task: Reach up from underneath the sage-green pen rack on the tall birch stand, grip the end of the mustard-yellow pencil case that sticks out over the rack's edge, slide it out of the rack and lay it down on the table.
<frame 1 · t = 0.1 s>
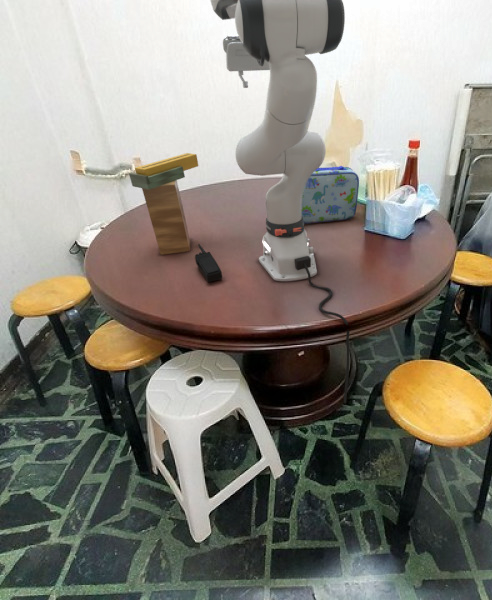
hand: (259, 87, 116), 48 cm above the table, tool pointing down, fingers open, 8 cm apart
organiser: (175, 246, 128), on the table
lunch box: (324, 219, 146), on the table
pencil case: (170, 173, 117), point 25 cm above the table, touching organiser
walkie-talkie: (205, 269, 114), on the table
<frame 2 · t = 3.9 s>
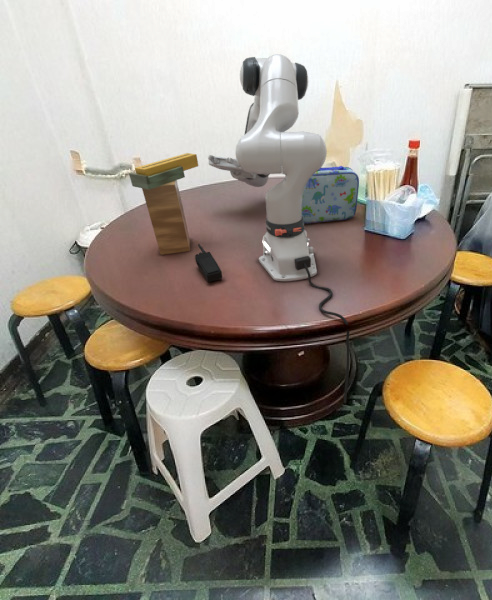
hand: (218, 158, 134), 25 cm above the table, tool pointing upward, fingers open, 8 cm apart
nothing on the table moved.
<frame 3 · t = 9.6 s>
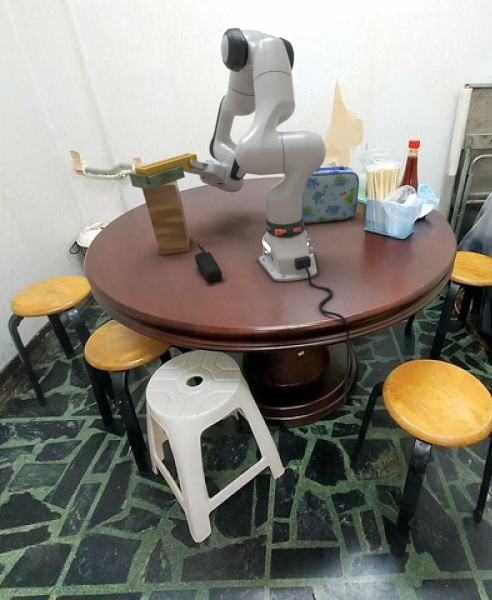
hand: (183, 160, 120), 27 cm above the table, tool pointing upward, fingers closed on pencil case, 4 cm apart
pencil case: (170, 173, 117), point 25 cm above the table, touching gripper, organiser
everything else where it was.
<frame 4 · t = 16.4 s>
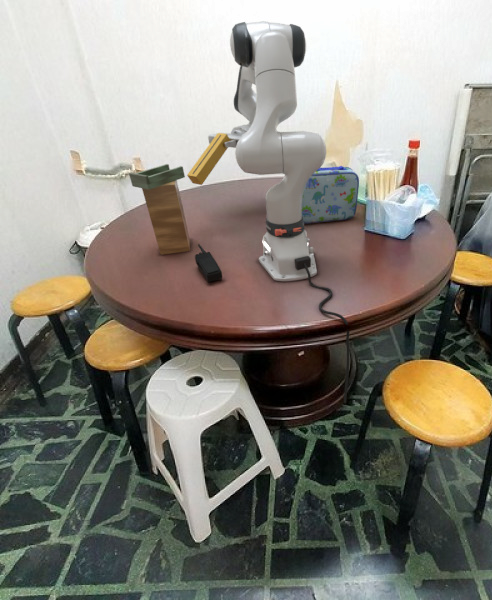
hand: (218, 144, 132), 29 cm above the table, tool horizontal, fingers closed on pencil case, 4 cm apart
pencil case: (212, 162, 132), point 24 cm above the table, tilted 30°, touching gripper
everything else where it was.
when the fingers open (11 cm above the table, at t = 20.7 s): pencil case drops 5 cm, on the table.
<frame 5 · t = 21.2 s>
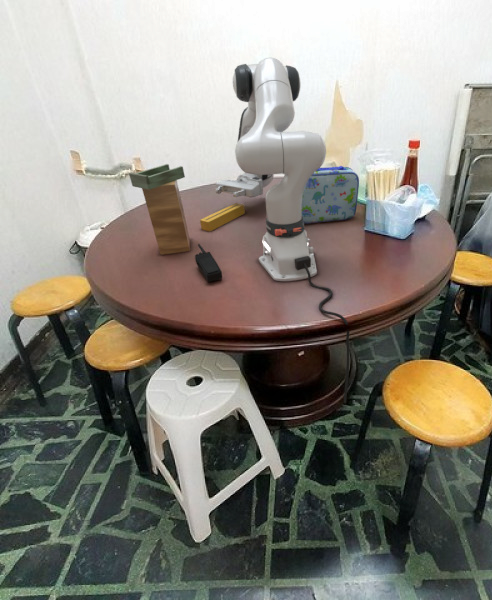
hand: (225, 193, 142), 11 cm above the table, tool horizontal, fingers open, 8 cm apart
pencil case: (224, 221, 147), on the table
everything else where it was.
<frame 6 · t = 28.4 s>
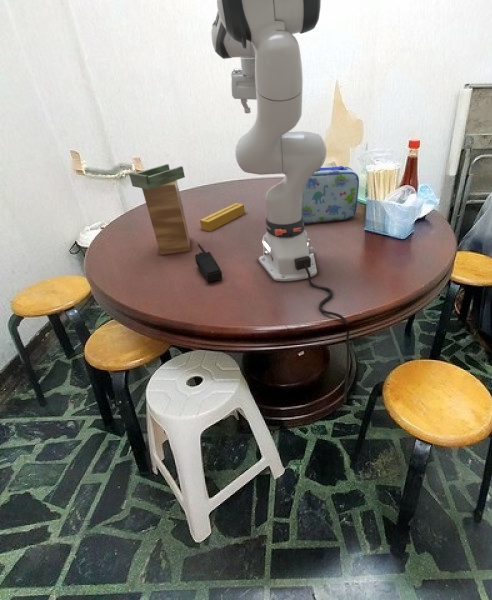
hand: (257, 113, 128), 39 cm above the table, tool pointing down, fingers open, 8 cm apart
nothing on the table moved.
at the end: pencil case on the table; pencil case inside the target area (0.7 cm from its centre), on the table; the gripper is holding nothing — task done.
